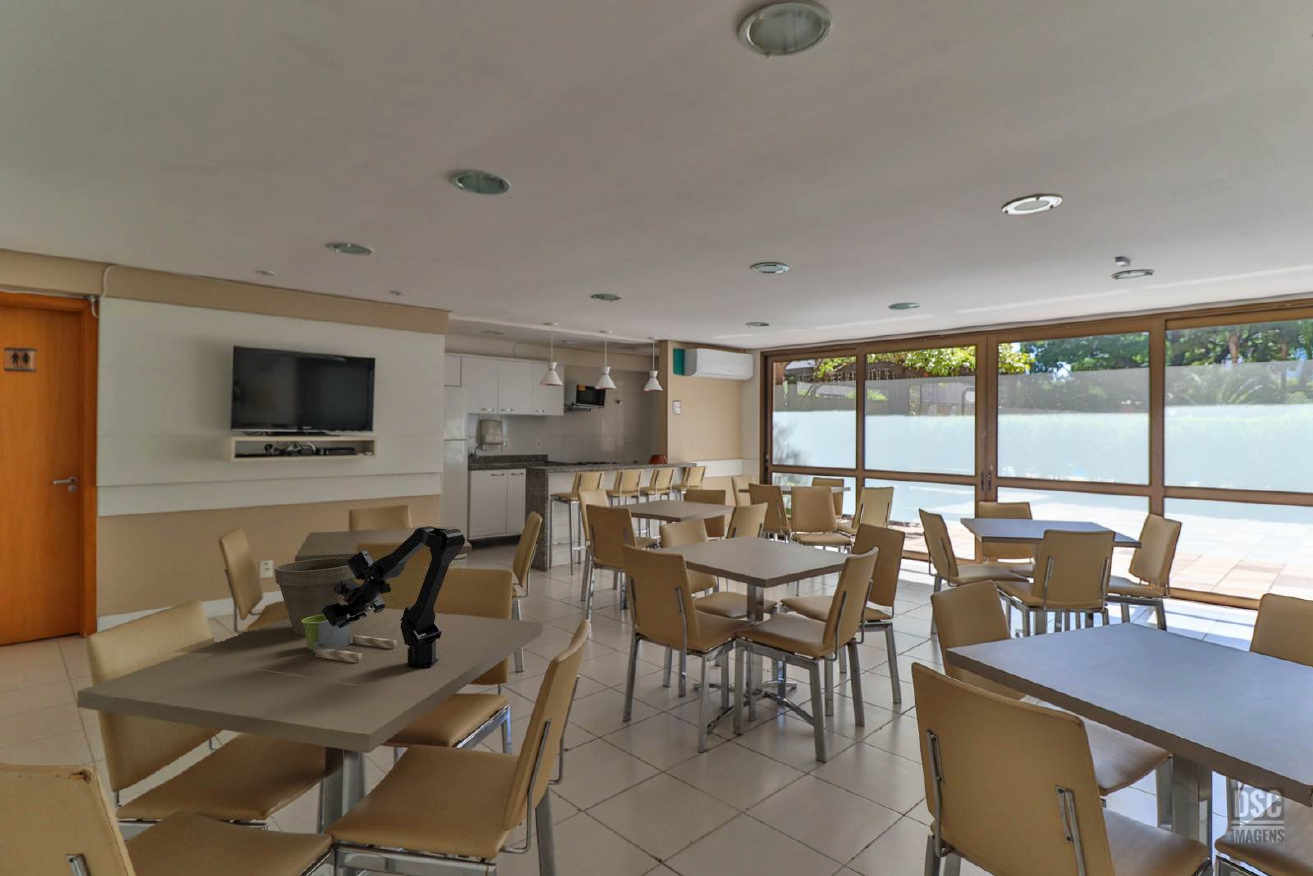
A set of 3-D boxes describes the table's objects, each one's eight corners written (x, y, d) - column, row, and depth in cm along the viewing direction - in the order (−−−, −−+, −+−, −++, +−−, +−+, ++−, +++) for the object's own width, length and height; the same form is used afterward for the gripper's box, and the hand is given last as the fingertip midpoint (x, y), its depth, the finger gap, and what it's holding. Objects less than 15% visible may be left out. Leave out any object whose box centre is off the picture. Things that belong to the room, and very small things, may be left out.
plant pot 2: (325, 652, 191) (325, 622, 191) (294, 652, 192) (294, 622, 192) (343, 643, 200) (343, 614, 200) (313, 642, 201) (313, 614, 201)
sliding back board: (350, 644, 198) (350, 614, 198) (322, 654, 189) (322, 622, 189) (341, 643, 199) (341, 613, 199) (313, 652, 190) (313, 621, 190)
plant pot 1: (255, 638, 206) (256, 569, 206) (308, 618, 230) (308, 556, 230) (329, 641, 202) (329, 571, 202) (374, 620, 226) (374, 557, 227)
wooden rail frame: (397, 648, 194) (397, 640, 194) (358, 663, 181) (358, 654, 181) (355, 643, 200) (355, 635, 200) (315, 657, 187) (315, 648, 187)
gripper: (377, 565, 200) (350, 599, 204) (326, 576, 183) (297, 613, 186) (398, 593, 197) (369, 626, 201) (348, 607, 180) (318, 644, 183)
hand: (339, 626), depth 193 cm, fingers closed
